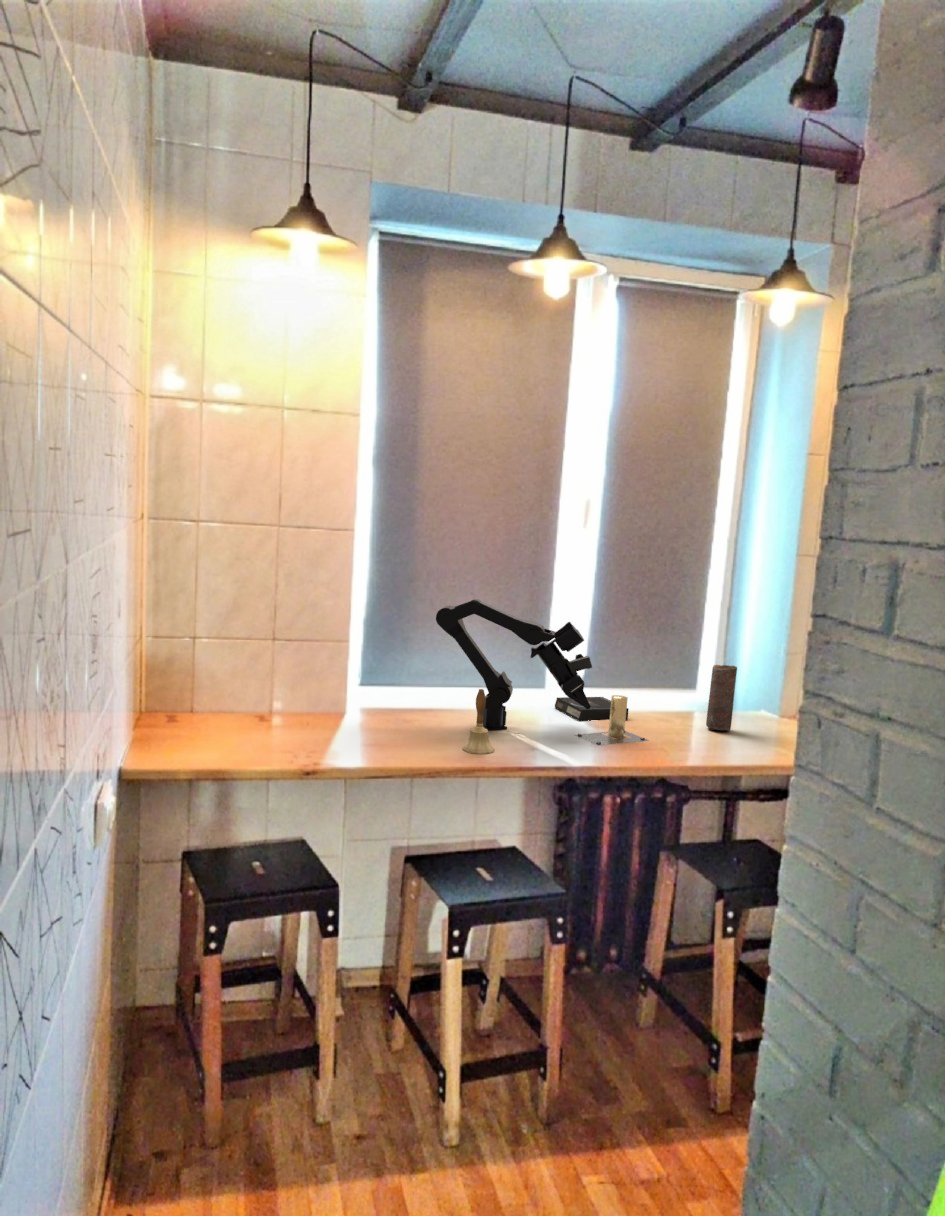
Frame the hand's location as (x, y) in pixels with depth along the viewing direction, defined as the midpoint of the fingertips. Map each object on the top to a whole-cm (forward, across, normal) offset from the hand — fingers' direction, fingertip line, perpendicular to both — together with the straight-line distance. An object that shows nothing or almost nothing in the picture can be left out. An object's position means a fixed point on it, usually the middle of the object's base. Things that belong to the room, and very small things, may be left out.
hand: (587, 706), depth 261 cm
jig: (+11, -4, +1) cm, 12 cm away
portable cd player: (+8, +30, +1) cm, 31 cm away
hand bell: (-11, -21, +30) cm, 38 cm away
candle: (+33, +21, -28) cm, 47 cm away
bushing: (+12, -1, -1) cm, 12 cm away
